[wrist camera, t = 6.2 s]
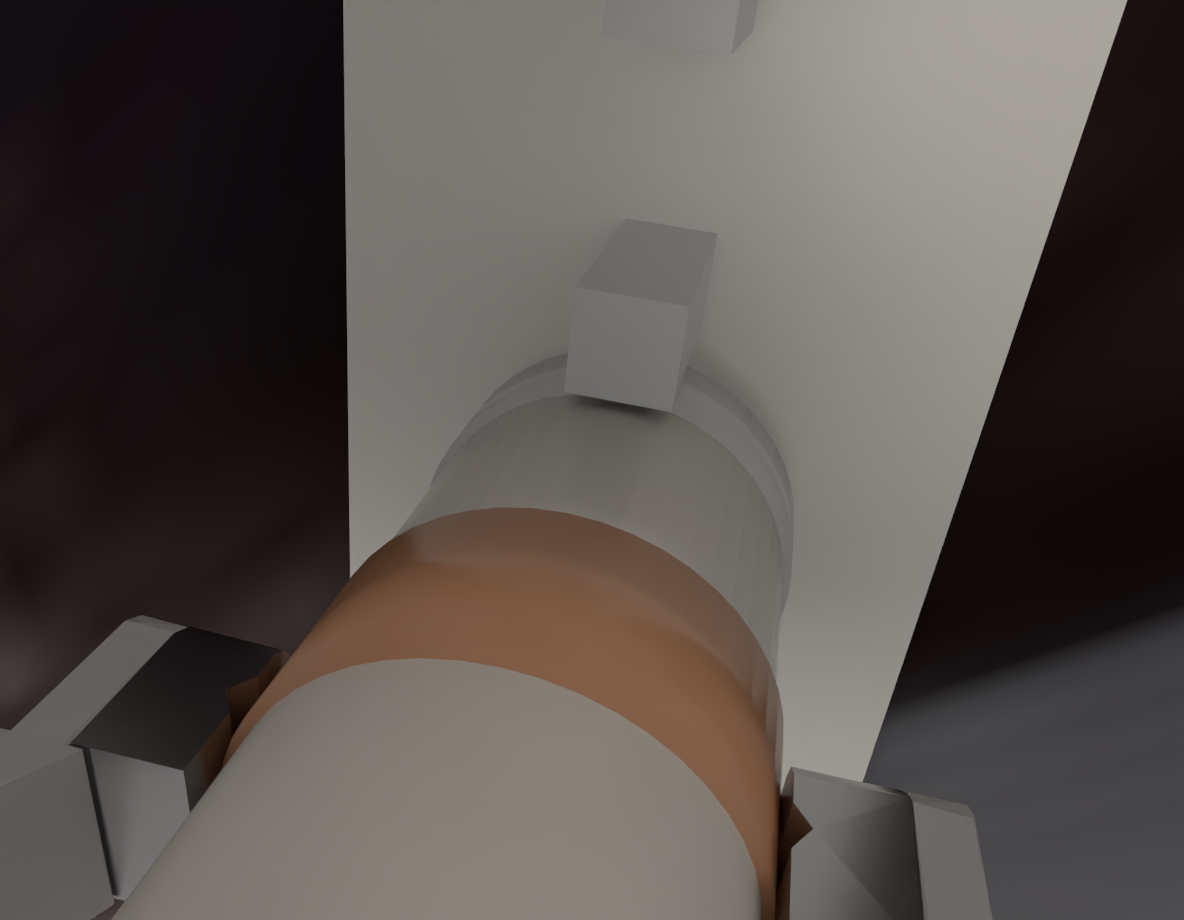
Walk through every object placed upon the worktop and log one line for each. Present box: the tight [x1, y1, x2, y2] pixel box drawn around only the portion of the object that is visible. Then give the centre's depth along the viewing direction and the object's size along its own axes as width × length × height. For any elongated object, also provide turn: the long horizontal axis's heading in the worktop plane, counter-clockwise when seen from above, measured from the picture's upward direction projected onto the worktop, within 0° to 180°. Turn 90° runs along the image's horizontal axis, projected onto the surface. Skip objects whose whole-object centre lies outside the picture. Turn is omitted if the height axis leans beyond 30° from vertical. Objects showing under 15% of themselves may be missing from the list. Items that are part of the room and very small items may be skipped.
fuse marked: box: [111, 353, 794, 920], centre depth 9 cm, size 5×5×10 cm
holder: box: [343, 0, 1127, 793], centre depth 14 cm, size 32×9×5 cm, turn 173°
